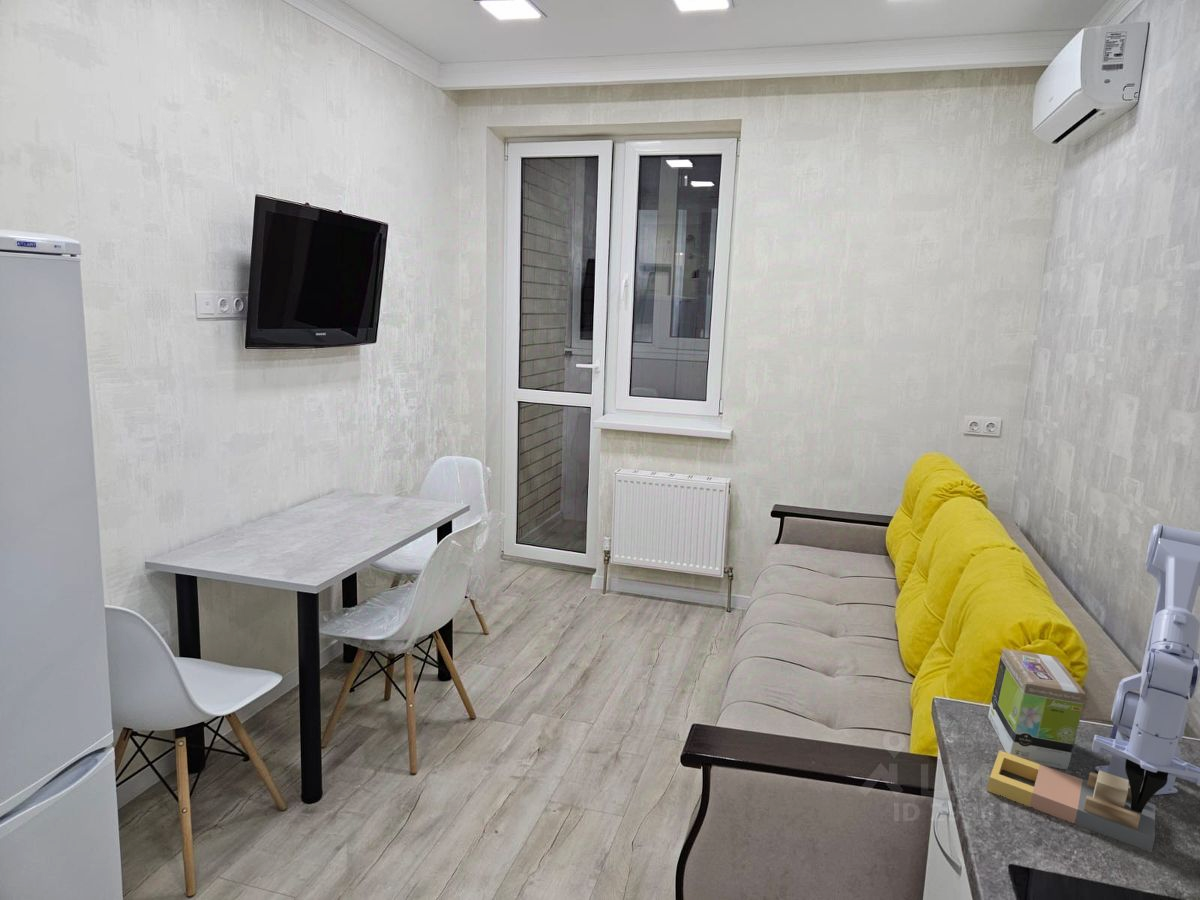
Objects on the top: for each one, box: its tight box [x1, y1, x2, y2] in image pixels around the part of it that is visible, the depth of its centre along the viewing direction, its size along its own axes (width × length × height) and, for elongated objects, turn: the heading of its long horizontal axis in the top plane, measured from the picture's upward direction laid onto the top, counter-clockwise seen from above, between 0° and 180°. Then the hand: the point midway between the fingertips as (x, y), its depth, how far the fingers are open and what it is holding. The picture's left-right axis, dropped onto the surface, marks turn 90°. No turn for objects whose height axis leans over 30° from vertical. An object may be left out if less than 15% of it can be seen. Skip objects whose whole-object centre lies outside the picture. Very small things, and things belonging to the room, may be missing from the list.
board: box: [986, 750, 1156, 853], centre depth 130 cm, size 22×10×2 cm, turn 56°
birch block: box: [1093, 770, 1129, 808], centre depth 127 cm, size 4×4×4 cm
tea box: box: [987, 648, 1086, 770], centre depth 147 cm, size 15×10×15 cm, turn 168°
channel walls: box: [1084, 771, 1141, 829], centre depth 127 cm, size 7×9×2 cm
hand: (1136, 808), depth 125 cm, fingers closed
